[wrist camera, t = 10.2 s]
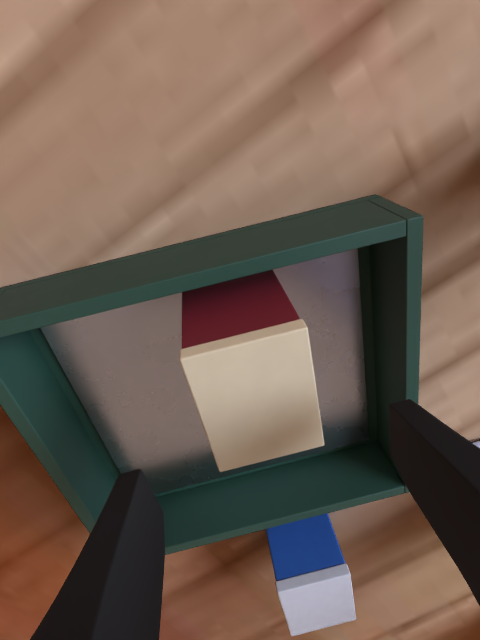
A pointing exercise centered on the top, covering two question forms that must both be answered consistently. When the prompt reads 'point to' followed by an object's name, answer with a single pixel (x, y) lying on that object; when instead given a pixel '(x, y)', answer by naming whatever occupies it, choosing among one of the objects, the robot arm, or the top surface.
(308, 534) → the block
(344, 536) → the top surface
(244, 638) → the top surface
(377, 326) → the tray
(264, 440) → the block
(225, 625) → the top surface
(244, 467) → the steel plate
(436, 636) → the top surface
